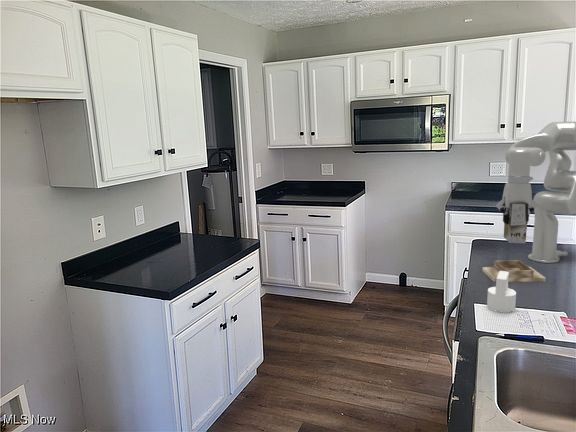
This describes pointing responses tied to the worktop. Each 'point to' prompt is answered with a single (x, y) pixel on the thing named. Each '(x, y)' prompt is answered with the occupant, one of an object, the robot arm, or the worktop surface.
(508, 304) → the cylinder with rectangular tab
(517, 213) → the coffee box
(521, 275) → the holder
